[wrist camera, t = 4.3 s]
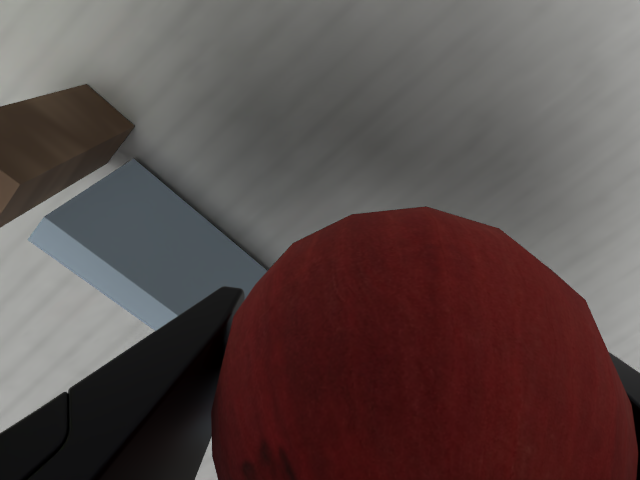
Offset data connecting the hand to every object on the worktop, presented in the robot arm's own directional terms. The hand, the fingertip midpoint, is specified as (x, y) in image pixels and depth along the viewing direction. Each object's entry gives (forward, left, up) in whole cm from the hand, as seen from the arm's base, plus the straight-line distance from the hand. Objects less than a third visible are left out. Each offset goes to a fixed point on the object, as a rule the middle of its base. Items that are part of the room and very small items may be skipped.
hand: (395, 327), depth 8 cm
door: (-2, +8, -11) cm, 14 cm away
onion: (0, 0, -2) cm, 2 cm away
